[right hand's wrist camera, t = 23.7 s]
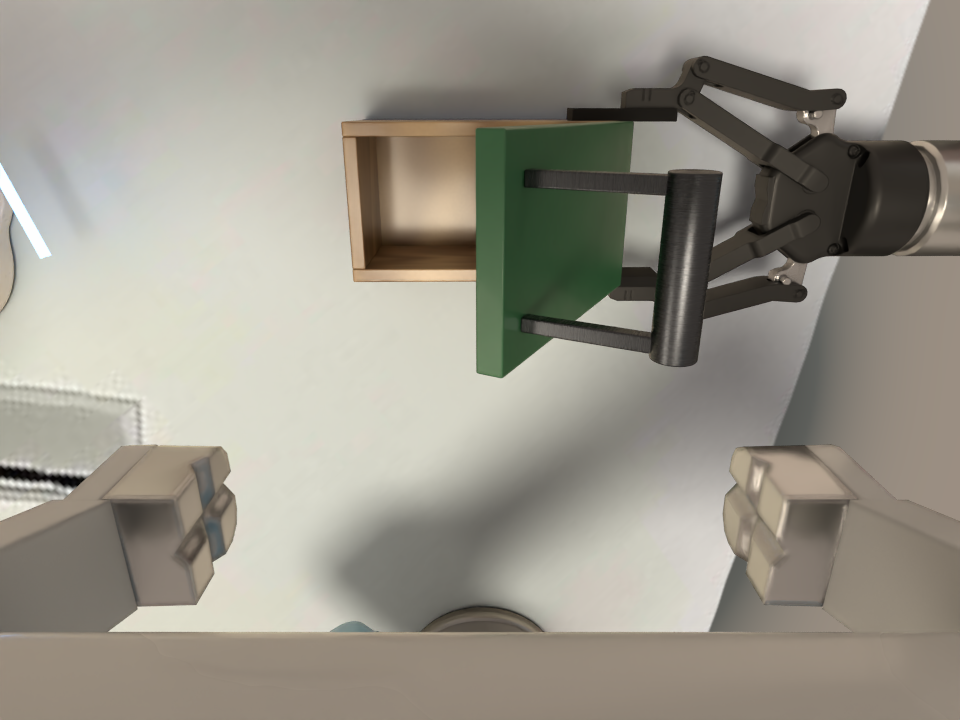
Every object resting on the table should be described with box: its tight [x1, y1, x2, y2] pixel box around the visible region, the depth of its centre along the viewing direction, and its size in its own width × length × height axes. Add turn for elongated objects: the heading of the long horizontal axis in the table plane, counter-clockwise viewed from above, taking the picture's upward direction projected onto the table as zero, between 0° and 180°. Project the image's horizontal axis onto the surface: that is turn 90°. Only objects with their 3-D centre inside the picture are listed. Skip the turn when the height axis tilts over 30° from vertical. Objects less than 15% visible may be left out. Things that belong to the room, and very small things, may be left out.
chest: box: [341, 119, 608, 282], centre depth 44 cm, size 17×10×9 cm, turn 90°
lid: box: [475, 121, 722, 378], centre depth 30 cm, size 17×10×9 cm
